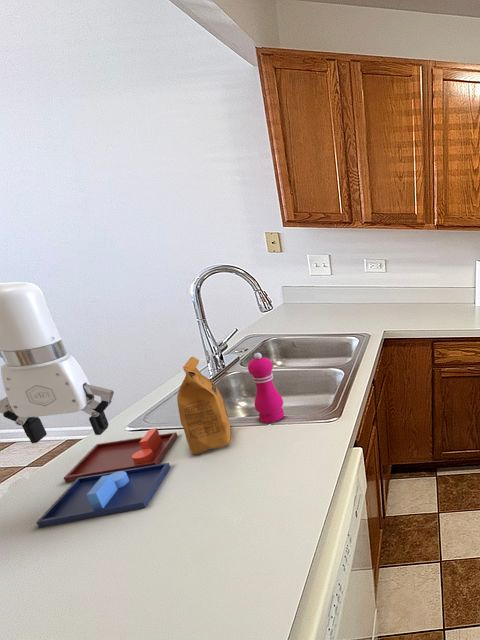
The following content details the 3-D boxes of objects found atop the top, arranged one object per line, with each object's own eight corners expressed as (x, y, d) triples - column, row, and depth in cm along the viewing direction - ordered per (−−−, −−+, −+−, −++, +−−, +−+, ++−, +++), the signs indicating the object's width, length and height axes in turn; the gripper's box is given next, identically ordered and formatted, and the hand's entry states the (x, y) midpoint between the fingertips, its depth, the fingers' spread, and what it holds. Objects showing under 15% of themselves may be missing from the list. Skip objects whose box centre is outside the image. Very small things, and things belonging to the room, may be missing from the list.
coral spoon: (149, 443, 101) (144, 429, 100) (167, 440, 103) (162, 427, 101) (131, 466, 93) (125, 452, 91) (150, 463, 94) (145, 449, 92)
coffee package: (236, 424, 110) (215, 351, 102) (233, 447, 100) (210, 368, 92) (193, 433, 106) (168, 357, 98) (186, 458, 96) (157, 376, 88)
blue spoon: (109, 507, 81) (102, 491, 79) (86, 511, 79) (79, 496, 78) (132, 476, 89) (126, 462, 88) (112, 480, 88) (105, 465, 87)
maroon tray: (65, 483, 88) (63, 477, 88) (98, 448, 100) (96, 443, 100) (157, 467, 93) (155, 462, 92) (177, 436, 105) (176, 432, 104)
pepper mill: (252, 422, 112) (235, 356, 104) (270, 409, 118) (255, 347, 110) (274, 425, 110) (258, 359, 102) (291, 412, 116) (278, 349, 109)
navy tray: (38, 528, 76) (35, 522, 76) (80, 482, 88) (77, 477, 88) (145, 507, 81) (143, 502, 81) (170, 467, 93) (168, 462, 93)
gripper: (-48, 366, 64) (-2, 454, 71) (84, 356, 69) (116, 438, 76) (-13, 350, 71) (27, 432, 78) (106, 342, 76) (134, 419, 83)
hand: (71, 435), depth 77 cm, fingers open, 9 cm apart
